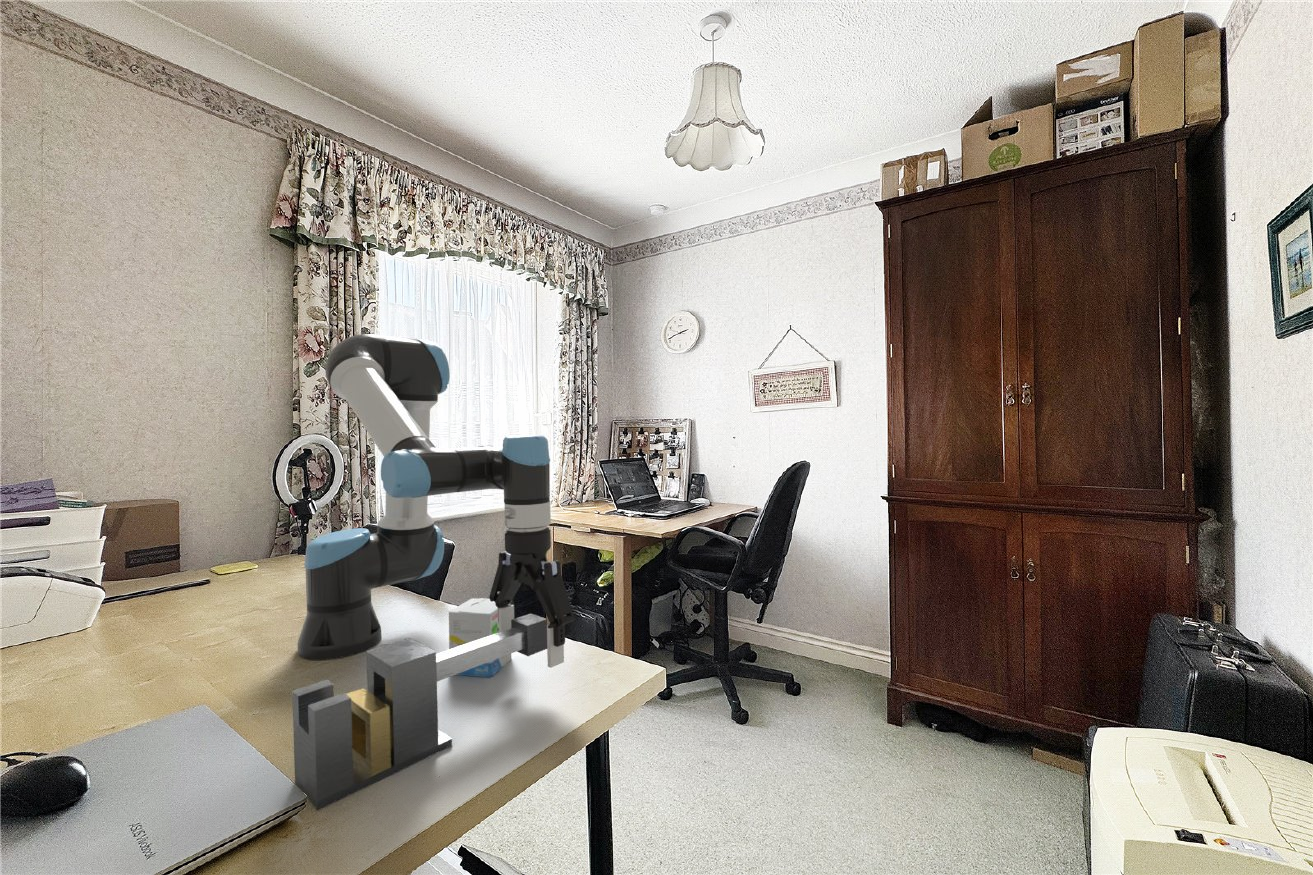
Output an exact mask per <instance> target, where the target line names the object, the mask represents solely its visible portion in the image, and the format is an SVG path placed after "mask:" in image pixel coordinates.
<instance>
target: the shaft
mask: <svg viewBox="0 0 1313 875" xmlns="http://www.w3.org/2000/svg"><path fill="white" fill-rule="evenodd" d="M547 626H548V618H544V617H542V616H540V615H537V614H533V613H528V614H525V615H522V616H519V617H516V618H515V617H514V619H512V620H511V629H508V630H505V631H503V632H500V633H497V634H494V635H491V636H488V637H485V638H482V639H479V640H476V641H473V642H470V643H467V644H464V645H461V646H458V647H455V648H452V649H449V648H448V649H447V650H444V651H441V652H438V653H436V666H437V682H440V681H442V680H445V679H448V678H450V677H452V676H455V675H456V674H458V673H461V672H464V671H466V670H469V669H472V668H474V667H477V666H480V665H482V664H485V663H487V662H490V661H493V660H495V659H498V658H501V657H503V656H506V655H509V654H511V655H512V654H513V653H516V652H517V653H520V654H521V655H524V656H526V657H530V656H533V655H535V654H538V653H540V652H543V651H544V650H547Z"/></svg>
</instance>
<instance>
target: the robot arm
mask: <svg viewBox="0 0 1313 875" xmlns="http://www.w3.org/2000/svg"><path fill="white" fill-rule="evenodd" d="M324 368H325V370H324V371H325V376H326V381H327V383H328V385H329V386H330V388H331V389H332V391H333V393H334V394H335V396H337V397H338V398H340V399H342V400H345V401H346V402H347V403H348V405H349V406H350V407H351V409H352V411H353V412H354V413H355V415H356V417H357V418H358V420H359V421H360V423H361V424H362V426H363V427H364V429H365V430H366V432H367V433H368V435H369V436H370V438H371V439H372V441H373V442H374V445H376V447H377V448H378V450H379V452H380V453H381V454H382V457H383V458H382V461H381V464H380V479H381V481H382V487H383V489H384V491H385V512H384V513H385V514H384V516H382V517H381V518H380V519H379V520H378V522H377V531H376V532H374V533H371V532H370V531H369V529H367V528H363V527H357V528H356V527H355V528H350V529H341V530H338V531H337V530H336V531H333V532H329V533H326V534H323V535H320V536H318V537H316V538H314V539H313V540H311V541H310V542H309V543H308V544H307V546H306V548H305V559H304V564H303V565H304V569H305V588H306V589H305V590H306V591H305V593H306V595H305V596H306V616H305V619H304V621H303V623H302V624H303V625H302V628H301V630H300V635H299V636H298V641H297V655H298V656H299V658H302V659H305V660H313V661H317V660H318V661H321V660H322V661H323V660H332V659H333V660H334V659H340V658H345V657H349V656H352V655H356V654H359V653H363V652H365V651H368V650H371V649H373V648H374V647H375V646H376V645H378V644H379V643H380V642H381V640H382V638H383V637H382V626H381V622H379V619H378V616H377V614H376V612H375V609H374V607H373V604H372V589H376V588H382V587H386V586H391V585H395V584H400V583H405V582H409V581H418V580H420V579H421V578H424V577H429V576H431V575H433V574H434V573H435V572H436V571H437V570H438V569H439V568H440V566H441V564H442V561H443V558H444V554H445V541H444V539H443V532H442V530H441V529H440V527H438V526H437V525H435V520H434V519H433V518H432V516H431V515H429V513H428V498H429V496H438V495H445V494H446V495H447V494H453V493H465V492H474V491H482V490H503V503H504V512H503V513H504V514H503V515H504V526H505V527H506V528H507V529H506V530H505V531H504V551H501V552H499V553H498V564H497V569H496V570H495V571H496V573H495V576H494V579H493V582H492V585H491V590H490V593H489V596H488V597H489V598H488V599H490V601H491V602H492V601H494V602H495V605H496V607H498V623H499V633H500V632H503V631H505V630H508V629H511V620H512V619H515V604H514V603H515V602H514V600H513V599H514V598H515V596H516V594H517V592H518V591H519V589H520V587H521V586H522V584H525V585H527V586H529V587H530V589H531V590H532V591H534V592H535V594H536V596H537V597H538V598H537V599H538V600H539V602H540V605H541V606H542V609H543V611H544V613H545V615H546V617H547V618H546V619H547V621H549V624H547V649H546V650H547V651H546V652H547V656H546V657H547V667H548V668H550V669H551V668H553V667H556V666H559V665H562V664H563V663H565V647H564V645H565V643H566V625H567V624H569V623H572V622H574V621H575V614H574V611H573V608H572V604H571V602H570V598H569V596H568V592H567V589H566V586H565V582H564V579H563V576H562V570H561V569H562V568H561V562H560V560H558V559H557V560H552V561H549V560H548V558H547V553H548V551H549V550H550V549H551V547H552V537H551V534H552V533H551V532H552V531H551V529H550V527H548V526H550V525H551V523H552V521H551V520H552V517H551V497H550V495H551V493H550V492H551V490H550V489H551V488H550V487H551V486H550V485H551V484H550V480H551V479H550V475H551V474H550V471H551V470H550V467H551V466H550V465H551V464H550V462H551V458H550V450H549V449H550V448H549V441H548V439H547V438H546V437H545V436H544V435H508V436H507V435H506V436H505V437H503V440H502V446H493V445H478V446H476V447H475V446H474V447H453V448H451V447H450V448H437V447H436V446H435V444H433V442H432V441H431V440H430V430H431V429H430V426H431V409H432V408H433V407H434V406H435V405H436V404H437V403H438V401H439V395H440V394H442V393H444V392H445V391H446V390H447V389H448V385H449V384H450V377H451V376H450V374H451V372H450V367H449V361H448V358H447V356H446V353H445V352H444V350H443V348H441V346H440V345H439V344H437V343H436V342H433V341H431V340H424V339H420V338H419V339H418V338H409V337H397V336H387V335H386V336H385V335H379V334H377V335H376V334H370V333H364V334H356V335H352V336H349V337H346V338H345V339H343V340H342V341H340V342H338V344H336V345H335V346H334V348H333V349H331V351H330V352H329V354H328V356H327V359H326V362H325V367H324ZM508 604H510V605H509V606H508Z"/></svg>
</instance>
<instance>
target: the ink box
mask: <svg viewBox="0 0 1313 875" xmlns="http://www.w3.org/2000/svg"><path fill="white" fill-rule="evenodd" d="M509 605H511V604H508V606H509ZM497 633H499V623H498V607H496V605H495V602H494V601H492V602H491V601H490V599H489V598H485V597H482V598H473V597H472V598H469V599H468V600H467V601H465V602H463V603H461V604H459V605H458V606H456V607H454V608H453V609H451V610H449V611H448V650H449V649H452V648H455V647H458V646H461V645H464V644H467V643H470V642H473V641H476V640H479V639H482V638H485V637H488V636H491V635H494V634H497ZM511 660H512V653H511V654H509V655H506V656H503V657H501V658H498V659H495V660H493V661H490V662H487V663H485V664H482V665H480V666H477V667H474V668H472V669H469V670H466V671H464V672H461V673H458V674H456V675H458V676H466V677H467V676H469V677H470V676H471V677H481V678H484V677H485V678H492V677H493V676H494V675H495V674H496V673H498V671H499V670H501V669H502V668H503V667H504V666H505V665H506V664H508V662H510V661H511Z"/></svg>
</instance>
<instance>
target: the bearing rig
mask: <svg viewBox="0 0 1313 875" xmlns="http://www.w3.org/2000/svg"><path fill="white" fill-rule="evenodd" d="M365 651H366V652H365V653H366V654H365V655H366V683H367V684H366V687H367V689H366V690H367V691H368V692H369V693H371V694H372V695H374V696H375V697H377V698H378V699H380V700H381V701H383V702H384V703H385V704H387V705H388V706H389V713H390V751H391V767H390V768H388V769H386V770H384V771H382V772H380V773H378V774H376V775H374V776H371V775H369V774H368V773H367V772H366V771H365V770H364V769H363V768H362V767H361V766H360V765H359V764H357V763H356V762H355V761H354V760H353V749H352V713H351V698H350V697H349V696H348V695H346V694H347V693H346V692H342V693H340V694H337V695H335V696H334V683H332V681H330V680H329V679H325V680H321V681H319V682H315V683H313V684H308V685H305V686H303V687H300V688H296V689H294V690H292V692H291V694H292V723H293V724H292V726H293V727H292V728H293V729H292V730H293V756H294V757H293V758H294V759H293V760H294V762H293V764H294V783H295V784H296V786H297V787H298V788H299V789H300V790H302V791H301V792H302V793H303V792H304V793H305V794H306V795H307V797H306V798H307V799H308V801H309V802H310V804H312V805H313V807H314V809H315V810H316V811H320V810H321V809H324V808H325V807H328V806H330V805H332V804H334V803H336V802H338V801H340V800H342V799H344V798H346V797H349V796H351V795H352V794H355V793H356V792H358V791H361V790H363V789H365V788H367V787H369V786H371V785H373V784H375V783H378V782H379V781H382V780H384V779H385V778H388V777H390V776H392V775H394V774H396V773H399V772H400V771H402V770H404V769H407V768H408V767H410V766H414V765H415V764H416V763H418V762H421V761H423V760H425V759H427V758H430V757H431V756H434V755H436V754H438V753H440V752H443V750H446V749H448V748H450V747H452V746H453V739H452V737H451V736H448V735H447V734H446V733H444V732H443V731H442V730H440V729H439V721H438V720H439V719H438V718H439V717H438V716H439V714H438V713H439V712H438V681H437V666H436V654H437V651H436V650H434V649H431V648H429V647H428V646H425V645H424V644H422V643H420V642H418V641H416V640H413V639H412V638H411V637H408V638H405V639H401V640H398V641H395V642H392V643H388V644H385V645H381V646H379V647H375V648H374V647H373V648H370V649H367V650H365ZM304 793H303V794H304ZM305 794H304V795H305Z"/></svg>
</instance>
